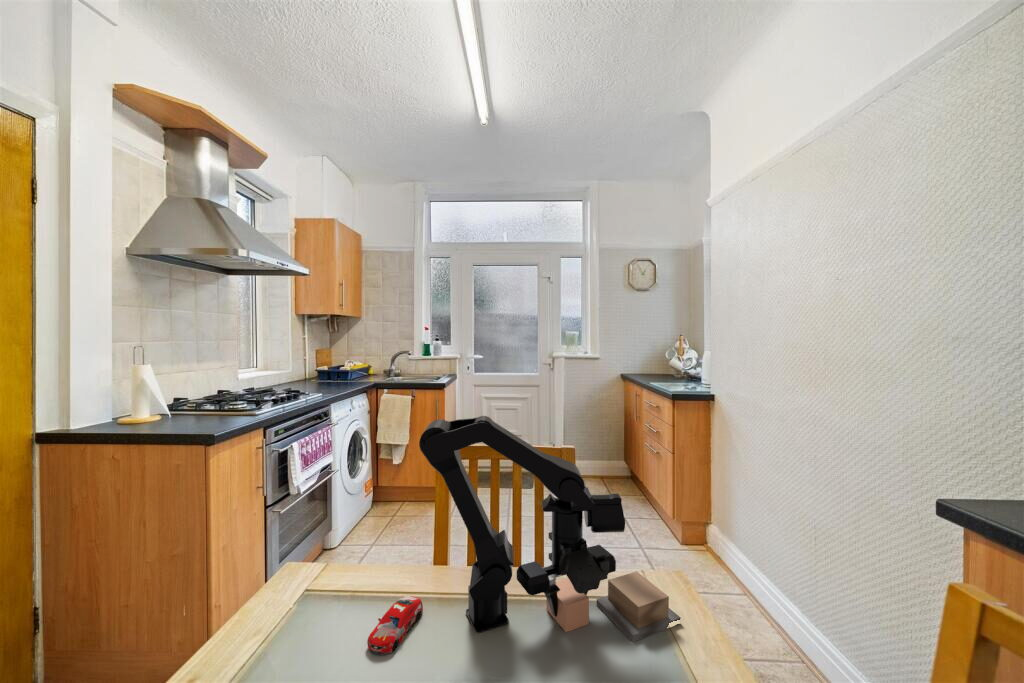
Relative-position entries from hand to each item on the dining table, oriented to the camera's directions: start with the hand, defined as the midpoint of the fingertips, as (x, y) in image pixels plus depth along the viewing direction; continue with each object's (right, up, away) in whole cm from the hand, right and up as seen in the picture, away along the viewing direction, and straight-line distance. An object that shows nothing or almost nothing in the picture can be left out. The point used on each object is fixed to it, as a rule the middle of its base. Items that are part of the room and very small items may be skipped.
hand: (567, 611), depth 87 cm
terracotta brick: (0, -1, 0) cm, 1 cm away
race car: (-32, -2, -3) cm, 32 cm away
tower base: (+13, -1, +1) cm, 14 cm away
